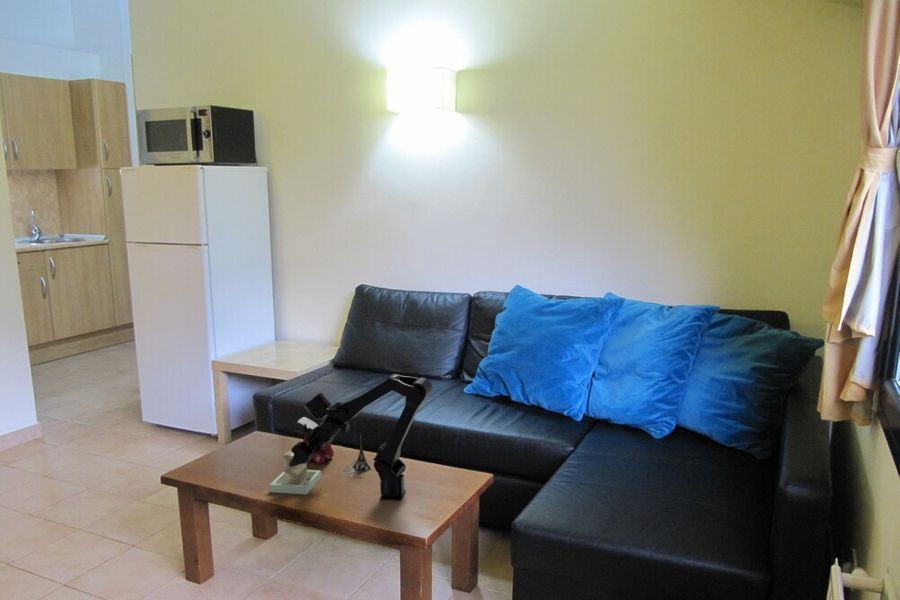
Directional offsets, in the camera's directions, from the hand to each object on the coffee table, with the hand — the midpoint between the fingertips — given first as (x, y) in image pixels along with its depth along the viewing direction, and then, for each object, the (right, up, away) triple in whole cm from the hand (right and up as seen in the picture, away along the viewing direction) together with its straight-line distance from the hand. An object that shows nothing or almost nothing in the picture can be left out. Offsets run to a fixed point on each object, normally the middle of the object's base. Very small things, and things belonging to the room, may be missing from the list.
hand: (297, 460), depth 213 cm
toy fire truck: (+2, -5, +22) cm, 23 cm away
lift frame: (-1, -8, +2) cm, 8 cm away
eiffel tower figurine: (+19, -7, +14) cm, 24 cm away
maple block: (-1, -8, +2) cm, 9 cm away
